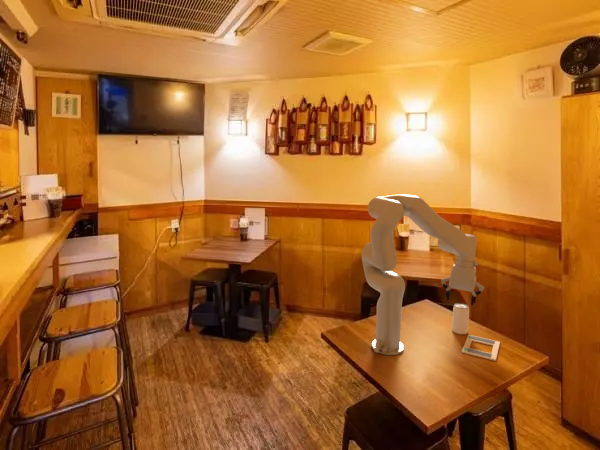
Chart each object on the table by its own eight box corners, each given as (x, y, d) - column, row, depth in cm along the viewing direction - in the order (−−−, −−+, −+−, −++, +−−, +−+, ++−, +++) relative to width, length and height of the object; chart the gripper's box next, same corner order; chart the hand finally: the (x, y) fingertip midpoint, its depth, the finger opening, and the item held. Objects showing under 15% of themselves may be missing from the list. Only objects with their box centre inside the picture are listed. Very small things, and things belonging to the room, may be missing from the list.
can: (464, 328, 169) (466, 302, 166) (469, 335, 162) (471, 308, 160) (449, 327, 169) (451, 302, 167) (454, 334, 163) (456, 308, 161)
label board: (495, 361, 142) (496, 359, 142) (461, 352, 149) (461, 350, 148) (499, 343, 156) (500, 341, 155) (468, 335, 162) (468, 334, 162)
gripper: (488, 265, 159) (483, 303, 162) (444, 258, 168) (441, 295, 171) (485, 269, 152) (481, 309, 155) (441, 261, 161) (437, 300, 164)
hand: (460, 301), depth 163 cm, fingers open, 9 cm apart
